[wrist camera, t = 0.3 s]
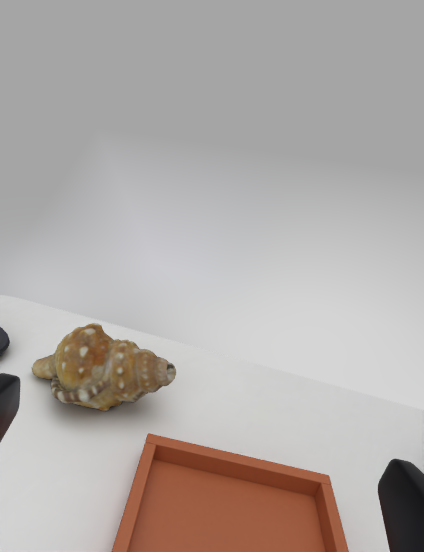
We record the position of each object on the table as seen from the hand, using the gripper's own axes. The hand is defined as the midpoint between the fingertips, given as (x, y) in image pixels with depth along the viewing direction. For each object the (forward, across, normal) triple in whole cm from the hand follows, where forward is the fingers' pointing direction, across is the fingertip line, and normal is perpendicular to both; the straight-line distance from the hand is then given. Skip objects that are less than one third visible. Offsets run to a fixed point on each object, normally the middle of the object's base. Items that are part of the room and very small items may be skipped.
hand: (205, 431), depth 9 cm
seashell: (+19, +7, +16) cm, 26 cm away
